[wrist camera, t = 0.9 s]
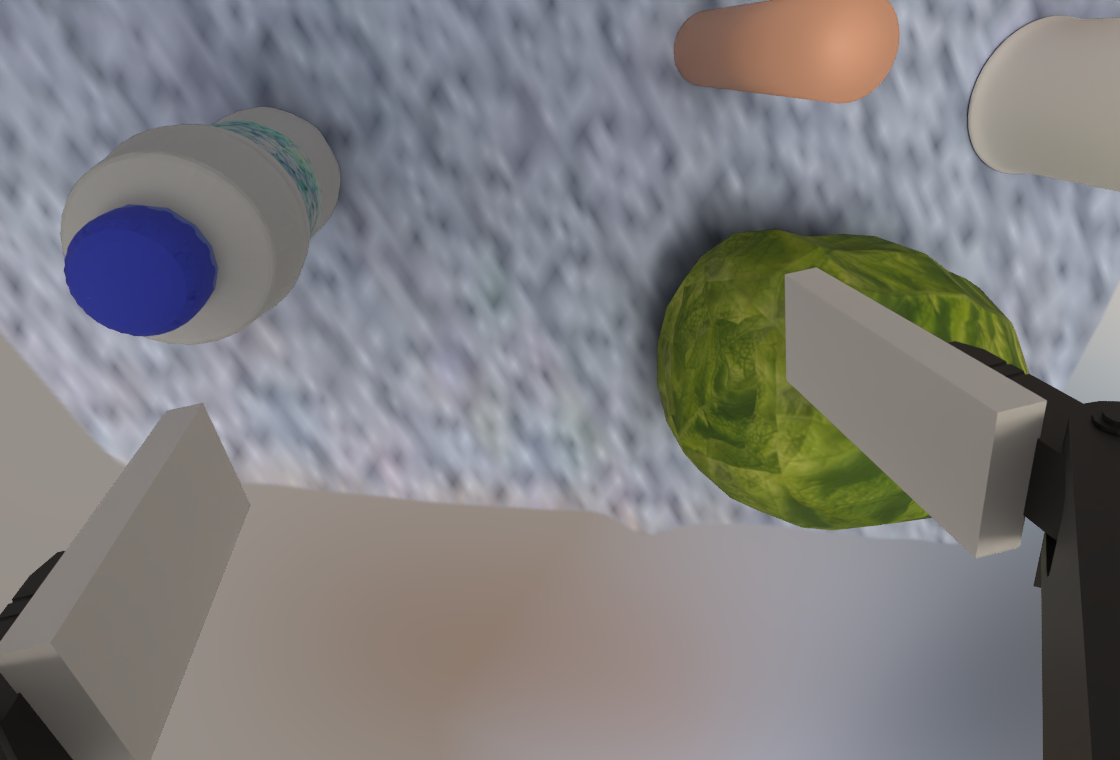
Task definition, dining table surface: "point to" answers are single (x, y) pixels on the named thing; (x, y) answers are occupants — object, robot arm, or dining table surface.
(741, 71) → the dowel
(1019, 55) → the mug
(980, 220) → the dining table surface
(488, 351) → the dining table surface
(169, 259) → the bottle
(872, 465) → the lettuce
